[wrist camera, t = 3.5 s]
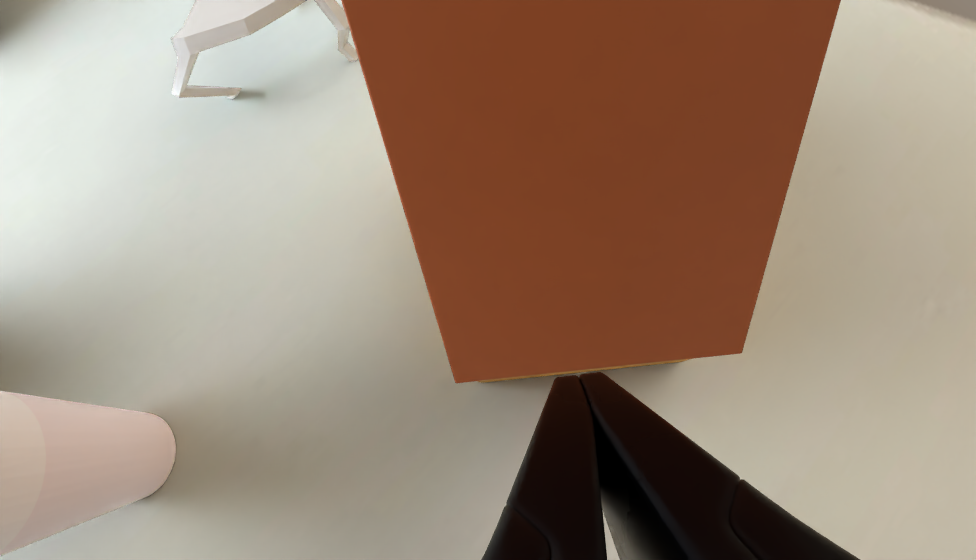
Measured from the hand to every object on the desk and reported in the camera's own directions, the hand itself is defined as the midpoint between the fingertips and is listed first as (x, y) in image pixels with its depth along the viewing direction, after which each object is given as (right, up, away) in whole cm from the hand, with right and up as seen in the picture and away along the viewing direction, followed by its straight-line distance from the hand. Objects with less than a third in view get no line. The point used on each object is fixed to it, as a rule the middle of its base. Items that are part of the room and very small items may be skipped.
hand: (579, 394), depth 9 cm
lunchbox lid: (+1, +4, +2) cm, 5 cm away
